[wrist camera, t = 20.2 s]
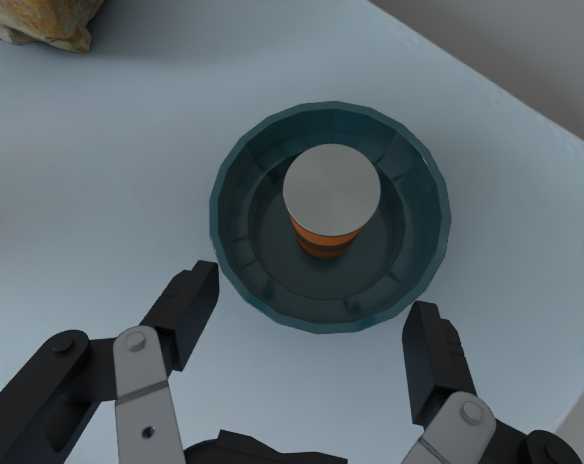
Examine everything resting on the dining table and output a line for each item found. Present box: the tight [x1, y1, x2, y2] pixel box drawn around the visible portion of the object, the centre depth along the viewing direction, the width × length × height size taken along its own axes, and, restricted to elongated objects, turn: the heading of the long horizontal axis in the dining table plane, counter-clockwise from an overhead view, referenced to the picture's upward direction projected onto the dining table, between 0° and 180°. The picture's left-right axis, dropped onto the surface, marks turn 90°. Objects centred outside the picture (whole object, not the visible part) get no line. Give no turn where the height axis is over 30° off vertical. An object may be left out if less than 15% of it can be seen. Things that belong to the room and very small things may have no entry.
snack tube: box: [283, 144, 381, 259], centre depth 22 cm, size 5×5×10 cm
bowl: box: [209, 101, 451, 334], centre depth 24 cm, size 15×15×6 cm
